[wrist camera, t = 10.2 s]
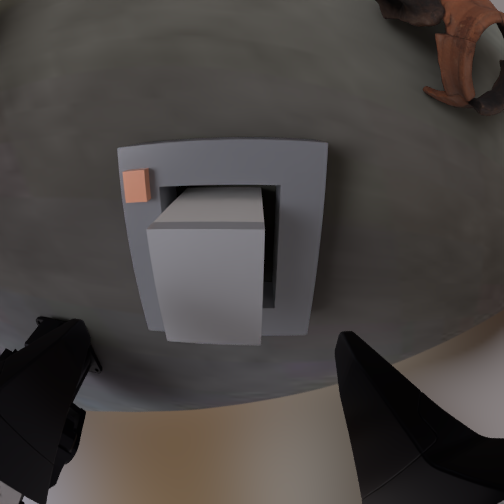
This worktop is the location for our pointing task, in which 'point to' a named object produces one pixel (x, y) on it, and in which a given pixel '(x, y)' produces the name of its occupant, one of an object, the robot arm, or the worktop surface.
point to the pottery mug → (455, 46)
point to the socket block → (234, 173)
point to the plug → (210, 265)
